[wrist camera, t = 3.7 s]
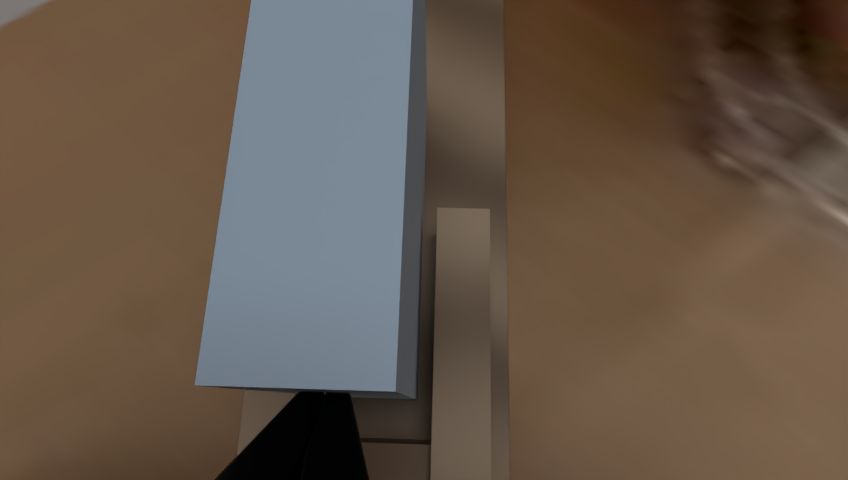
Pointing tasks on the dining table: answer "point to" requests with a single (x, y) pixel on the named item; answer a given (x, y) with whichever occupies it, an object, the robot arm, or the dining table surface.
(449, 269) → the holder
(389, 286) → the cover plate
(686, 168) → the dining table surface
